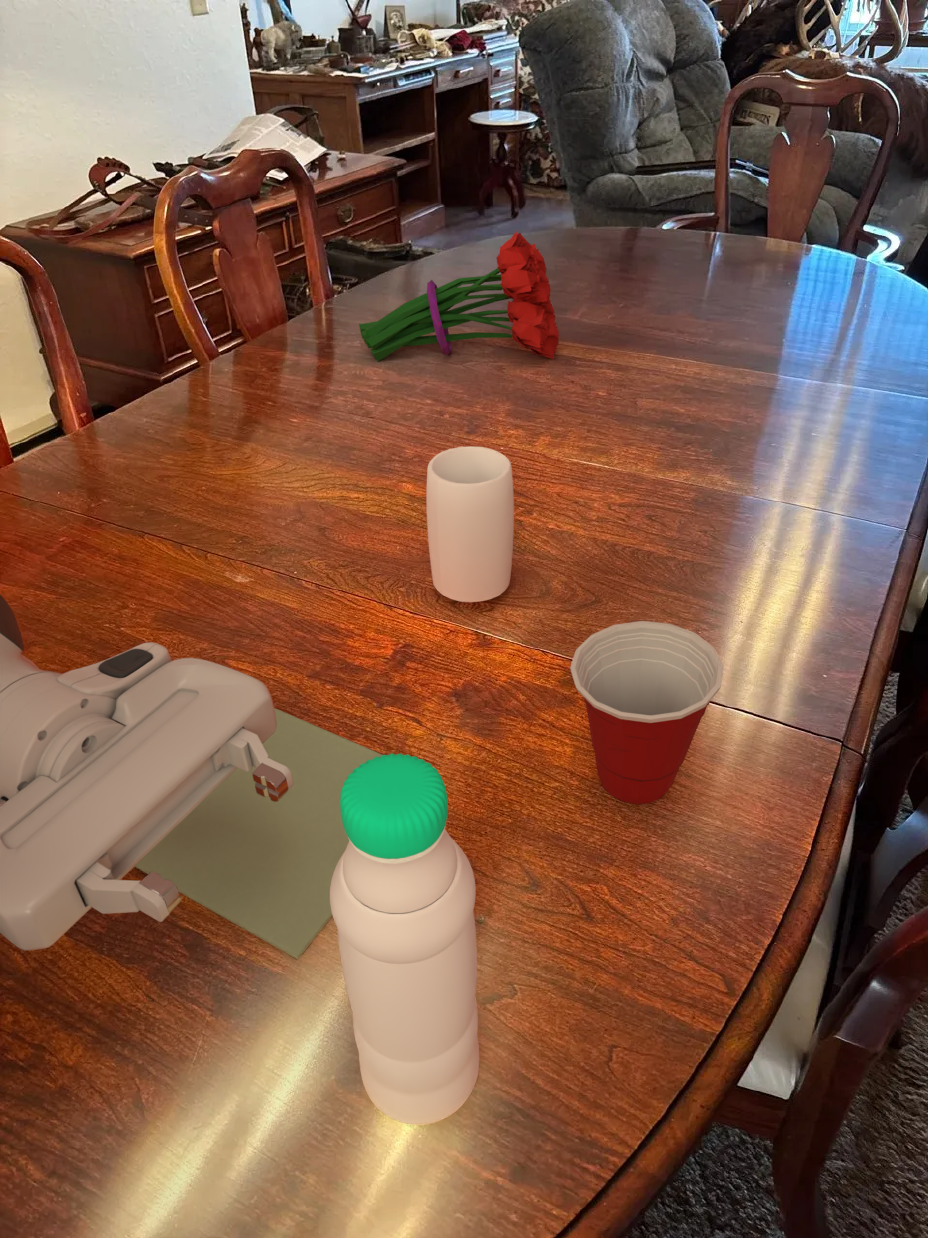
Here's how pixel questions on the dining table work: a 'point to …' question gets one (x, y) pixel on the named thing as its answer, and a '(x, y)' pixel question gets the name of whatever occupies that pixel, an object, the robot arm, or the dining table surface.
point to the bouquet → (430, 313)
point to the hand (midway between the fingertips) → (231, 841)
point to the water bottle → (407, 940)
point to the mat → (268, 840)
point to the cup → (470, 522)
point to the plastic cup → (644, 702)
